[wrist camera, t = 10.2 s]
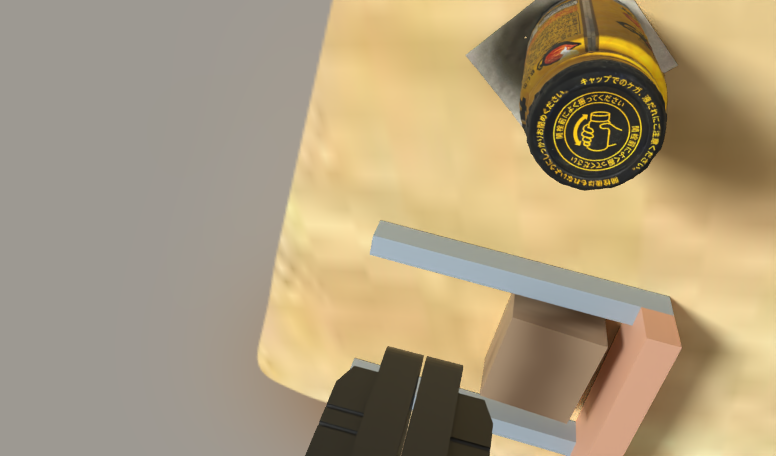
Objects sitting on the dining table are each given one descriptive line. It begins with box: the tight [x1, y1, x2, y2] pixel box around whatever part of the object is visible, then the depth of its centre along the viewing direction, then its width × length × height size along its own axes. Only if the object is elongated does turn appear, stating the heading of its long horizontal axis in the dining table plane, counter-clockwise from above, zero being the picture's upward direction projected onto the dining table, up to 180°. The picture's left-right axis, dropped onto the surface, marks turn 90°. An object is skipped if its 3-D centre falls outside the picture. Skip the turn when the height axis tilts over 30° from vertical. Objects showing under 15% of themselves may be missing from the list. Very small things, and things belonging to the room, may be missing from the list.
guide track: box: [350, 220, 682, 456], centre depth 44 cm, size 19×14×5 cm
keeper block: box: [480, 293, 608, 424], centre depth 43 cm, size 6×7×4 cm
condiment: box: [466, 0, 678, 190], centre depth 30 cm, size 7×8×12 cm
